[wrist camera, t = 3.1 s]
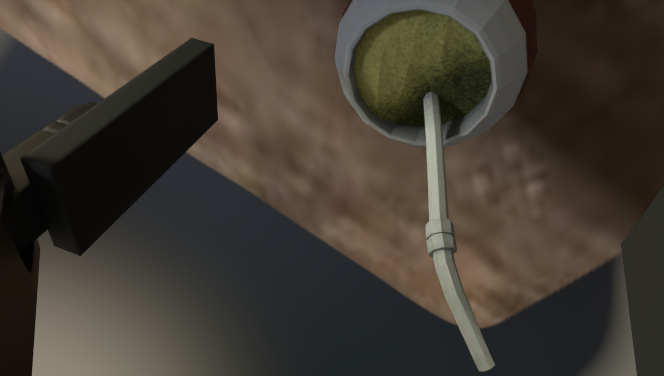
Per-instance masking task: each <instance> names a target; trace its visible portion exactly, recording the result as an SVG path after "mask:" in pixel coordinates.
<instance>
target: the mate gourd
mask: <svg viewBox="0 0 664 376" xmlns="http://www.w3.org/2000/svg"><path fill="white" fill-rule="evenodd" d="M536 54H537V38H536V12H535V8H534V4H533V2H532V0H350V1H349V3H348V5H347V7H346V8H345V10H344V12H343V14H342V20H341V21H340V23H339V28H338V36H337V44H336V53H335V63H336V66H337V70H338V74H339V77H340V81H341V84H342V88H343V92H344V94H345V97H346V98H347V99H348V101H349V102H350V104H351V105H352V106H353V108H354V109H355V110H356V112H357V113H358V114H359V116H360V117H361V119H362V120H363V121H364V122H365V123H366V124H368V125H369V126H371V127H372V128H374V129H375V130H377V131H378V132H380V133H381V134H382V135H384V136H385V137H387V138H388V139H391V140H394V141H398V142H401V143H405V144H408V145H411V146H415V147H426V148H427V171H428V196H429V222H428V223H427V224H426V225H425V228H426V239H427V249H428V254H429V255H430V256H431V257H433V258H434V263H435V268H436V271H437V274H438V277H439V280H440V283H441V286H442V289H443V292H444V295H445V298H446V301H447V303H448V305H449V307H450V309H451V311H452V313H453V316H454V318H455V320H456V322H457V324H458V326H459V328H460V331H461V332H462V335H463V337H464V339H465V342H466V344H467V346H468V348H469V350H470V352H471V355H472V357H473V359H474V362H475V363H476V366H477V368H478V370H479V371H486V370H489V369H491V368H492V367H493V366H494V365H495V364H494V362H493V360H492V358H491V355H490V353H489V351H488V348H487V346H486V344H485V341H484V339H483V336H482V334H481V331H480V329H479V327H478V324H477V322H476V319H475V317H474V314H473V312H472V310H471V307H470V305H469V302H468V300H467V298H466V295H465V293H464V290H463V287H462V284H461V281H460V278H459V274H458V271H457V268H456V265H455V261H454V256H453V254H454V253H455V252H456V251H457V248H456V241H455V239H454V237H455V235H454V227H453V224H452V222H451V221H450V220H449V218H448V203H447V188H446V174H445V160H444V146H451V145H456V144H458V143H461V142H463V141H466V140H468V139H471V138H473V137H476V136H478V135H481V134H483V133H485V132H487V131H488V130H489V129H490V128H491V127H492V126H494V125H495V124H496V123H497V122H498V121H499V120H500V119H501V118H502V117H503V116H504V115H505V114H506V113H507V112H508V111H509V110H510V109H511V108H512V107H513V106H514V104H515V101H516V100H517V99H518V97H519V96H520V94H521V92H522V89H523V87H524V84H525V82H526V80H527V77H528V75H529V72H530V70H531V67H532V65H533V63H534V60H535V57H536Z"/></svg>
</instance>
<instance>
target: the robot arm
mask: <svg viewBox="0 0 664 376" xmlns="http://www.w3.org/2000/svg"><path fill="white" fill-rule="evenodd" d="M217 120H218V111H217V92H216V73H215V55H214V44H212V43H208V42H205V41H201V40H197V39H194V38H191V39H189V40H188V41H187V42H185V43H184V44H182V45H181V46H179V47H178V48H177V49H175V50H174V51H172V52H171V53H169V54H168V55H167V56H165V57H164V58H162V59H161V60H159V61H158V62H157V63H155V64H154V65H152V66H151V67H149V68H148V69H147V70H145V71H144V72H142V73H141V74H139V75H138V76H137V77H135V78H134V79H132V80H131V81H129V82H128V83H127V84H125V85H124V86H122V87H121V88H119V89H118V90H117V91H115V92H114V93H112V94H111V95H109V96H108V97H107V98H105V99H104V100H102V101H101V102H99V103H95V102H90V103H87V104H84V105H81V106H79V107H76V108H73V109H71V110H70V111H68V112H67V113H65V114H64V115H62V116H61V117H59V118H58V119H57V121H56V122H55V121H53V122H52V123H50V124H49V125H47V126H46V127H45V128H44V130H40V131H38V132H37V133H35V134H34V135H33V136H31V137H30V138H28V139H27V140H25V141H24V142H22V143H21V144H19V145H18V146H16V147H15V148H13V149H12V150H10V151H9V152H7V153H6V154H4V155H3V156H2V154H1V152H0V376H32V362H33V347H34V333H35V317H36V302H37V288H38V273H39V258H40V246H39V242H38V240H37V238H38V237H39V236H41V235H42V234H43V233H44V232H45V231H46V230H47V229H48V231H49V234H50V236H51V239H52V241H53V244H54V246H56V247H59V248H61V249H64V250H66V251H69V252H72V253H74V254H77V255H79V256H81V255H82V254H83V253H84V252H85V251H86V250H87V249H88V248H89V247H90V246H91V245H92V244H93V243H94V242H95V241H96V240H97V239H98V238H99V237H100V236H101V235H102V234H103V233H104V232H105V231H106V230H107V229H108V228H109V227H110V226H111V225H112V224H113V223H114V222H115V221H116V220H117V219H118V218H119V217H120V216H121V215H122V214H123V213H124V212H125V211H126V210H127V209H128V208H129V207H130V206H131V205H132V204H133V203H134V202H135V201H136V200H137V199H138V198H140V196H141V195H143V194H144V193H145V192H146V190H148V189H149V188H150V187H151V186H152V185H153V184H154V183H155V182H156V181H157V180H158V179H159V178H160V177H161V176H162V175H163V174H164V173H165V172H166V171H167V170H168V169H169V168H170V167H171V166H172V165H173V164H174V163H175V162H176V161H177V160H178V159H179V158H180V157H181V156H182V155H183V154H184V153H185V152H186V151H187V150H188V149H189V148H190V147H191V146H192V145H193V144H194V143H195V142H196V141H197V140H198V139H199V138H200V137H201V136H202V135H203V134H204V133H205V132H206V131H207V130H208V129H209V128H210V127H211V126H212V125H213V124H214V123H215V122H216V121H217ZM621 247H622V255H623V264H624V272H625V280H626V288H627V297H628V304H629V313H630V321H631V329H632V337H633V346H634V354H635V362H636V371H637V376H664V186H663V188H662V189H661V190H660V192H659V193H658V194H657V196H656V197H655V199H654V200H653V201H652V203H651V204H650V205H649V207H648V208H647V210H646V211H645V212H644V214H643V215H642V216H641V218H640V219H639V220H638V222H637V223H636V225H635V226H634V227H633V229H632V230H631V231H630V233H629V234H628V235H627V237H626V238H625V240H624V241H623V242H622V244H621Z"/></svg>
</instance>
